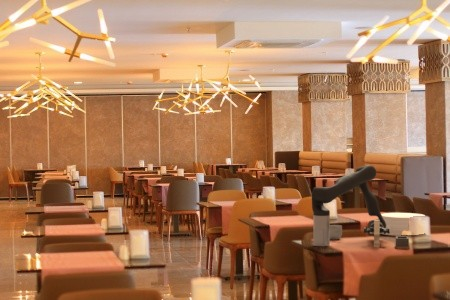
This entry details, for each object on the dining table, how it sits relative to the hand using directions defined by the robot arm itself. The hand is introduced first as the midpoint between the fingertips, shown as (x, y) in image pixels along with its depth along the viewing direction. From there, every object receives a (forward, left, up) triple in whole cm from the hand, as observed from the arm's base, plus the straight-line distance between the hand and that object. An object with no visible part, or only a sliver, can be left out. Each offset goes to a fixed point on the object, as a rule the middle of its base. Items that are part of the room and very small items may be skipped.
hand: (376, 232), depth 509 cm
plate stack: (+66, +8, -9) cm, 67 cm away
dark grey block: (+6, -13, -9) cm, 17 cm away
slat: (+1, +1, -9) cm, 9 cm away
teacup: (+21, +35, -9) cm, 42 cm away
